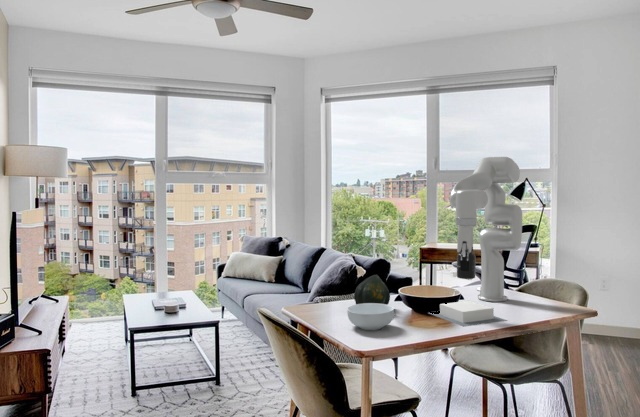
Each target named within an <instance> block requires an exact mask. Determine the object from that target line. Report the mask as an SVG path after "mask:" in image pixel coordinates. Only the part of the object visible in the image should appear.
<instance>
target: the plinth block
mask: <svg viewBox="0 0 640 417" xmlns="http://www.w3.org/2000/svg"><path fill="white" fill-rule="evenodd" d="M446 303H447V304H445V303H440V304H439V311H440V315H443V316H446V317H448V318H451V319H454V320H457V321H459V322H462V323H466V322H473V321H481V320H488V319H494V316H495V315H494V314H495V313H494V308H493V307H490V306H488V305H484V304H481V303H478V302H475V301H471V300H463V301H456V302H455V301H454V302H446Z"/></svg>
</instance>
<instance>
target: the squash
mask: <svg viewBox="0 0 640 417" xmlns="http://www.w3.org/2000/svg"><path fill="white" fill-rule="evenodd" d="M389 290H390V289H388V286H387V285H386V284H385V282H384V281H383V280H382V279H381V277H380V276H379V275H378V274H373V275H371V276H368V277H366V278H365V279H364V280H363V281H361V282H360V283H359V284H358V285H357V286H356V288H355V291H354V295H353V296H354V297H353V299H354V302H355V305H356V304H363V303H378V304H386V305H389V303H390V300H391V295H390V294H391V293H390V291H389Z"/></svg>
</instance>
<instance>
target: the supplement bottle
mask: <svg viewBox="0 0 640 417" xmlns="http://www.w3.org/2000/svg"><path fill="white" fill-rule="evenodd" d="M466 247H467V246H466ZM466 252H468V251H466ZM473 252H474V246H473V247H472V250H471V252H470V253H469V271H461V270H460V260H461V251H460V253H458V254H457V255H456V277H457V278H458V279H463V280H472V279H473V280H474V279H475V278H476V265H477V264H476V260H477V259H476V254H475V253H473Z"/></svg>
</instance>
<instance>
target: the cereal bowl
mask: <svg viewBox="0 0 640 417" xmlns="http://www.w3.org/2000/svg"><path fill="white" fill-rule="evenodd" d="M346 312H347V318H348V320H349V321H350V323H351V324H353V325H354V326H356V327H358V328H360V329H361V330H365V331H377V330H381V329H383V327H385V326H388V325H389V324H391V322H392V321H393V319H394V318H395V317H394V316H395V308H394V306H392V305H390V304H388V305H386V304H378V303H363V304H356V303H355V304H352V305H349V306H348V307H347V311H346Z"/></svg>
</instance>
